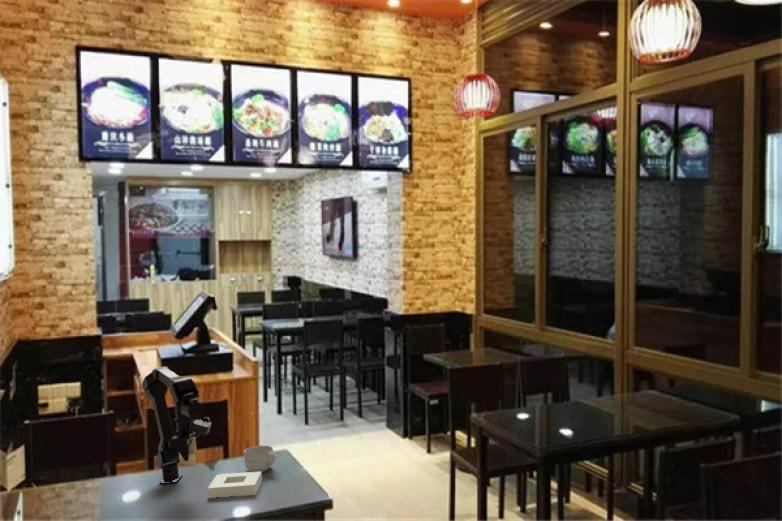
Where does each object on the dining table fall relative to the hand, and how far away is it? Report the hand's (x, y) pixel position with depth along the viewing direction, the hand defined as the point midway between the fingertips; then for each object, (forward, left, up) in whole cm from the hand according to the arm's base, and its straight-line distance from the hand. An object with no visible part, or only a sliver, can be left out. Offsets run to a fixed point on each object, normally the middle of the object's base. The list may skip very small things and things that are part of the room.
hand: (188, 458), depth 218 cm
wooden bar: (0, 0, -2) cm, 2 cm away
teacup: (-16, +22, -12) cm, 30 cm away
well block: (0, +16, -12) cm, 20 cm away
